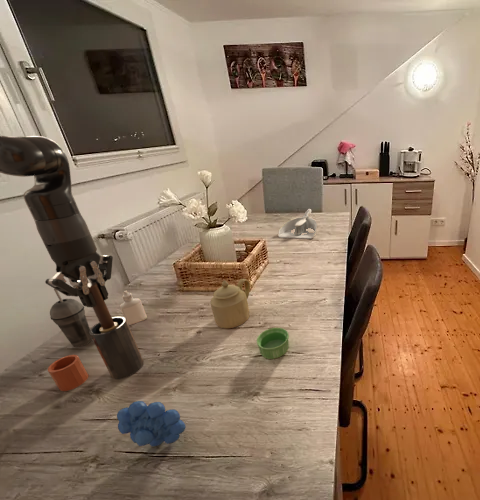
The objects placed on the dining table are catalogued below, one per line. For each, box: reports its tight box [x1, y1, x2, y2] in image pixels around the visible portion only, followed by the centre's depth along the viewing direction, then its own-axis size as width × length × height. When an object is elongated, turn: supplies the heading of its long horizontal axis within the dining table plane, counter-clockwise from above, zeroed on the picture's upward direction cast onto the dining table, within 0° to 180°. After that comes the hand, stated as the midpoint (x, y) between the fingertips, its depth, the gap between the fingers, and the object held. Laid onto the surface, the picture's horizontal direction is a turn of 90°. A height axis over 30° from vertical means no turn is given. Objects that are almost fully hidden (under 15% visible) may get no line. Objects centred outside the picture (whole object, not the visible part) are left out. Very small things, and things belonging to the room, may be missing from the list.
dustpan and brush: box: [277, 208, 318, 240], centre depth 178 cm, size 23×33×10 cm
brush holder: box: [47, 354, 89, 392], centre depth 71 cm, size 6×6×7 cm
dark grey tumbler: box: [89, 316, 145, 380], centre depth 73 cm, size 7×7×15 cm
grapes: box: [116, 400, 187, 447], centre depth 55 cm, size 12×7×12 cm, turn 97°
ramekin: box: [256, 327, 290, 360], centre depth 81 cm, size 9×9×4 cm
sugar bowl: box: [209, 278, 251, 329], centre depth 95 cm, size 15×11×15 cm
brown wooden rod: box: [87, 282, 119, 334], centre depth 69 cm, size 4×4×19 cm
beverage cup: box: [49, 288, 93, 348], centre depth 82 cm, size 7×7×20 cm
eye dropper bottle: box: [119, 290, 148, 326], centre depth 93 cm, size 4×6×12 cm
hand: (97, 302), depth 67 cm, fingers closed on brown wooden rod, 2 cm apart
